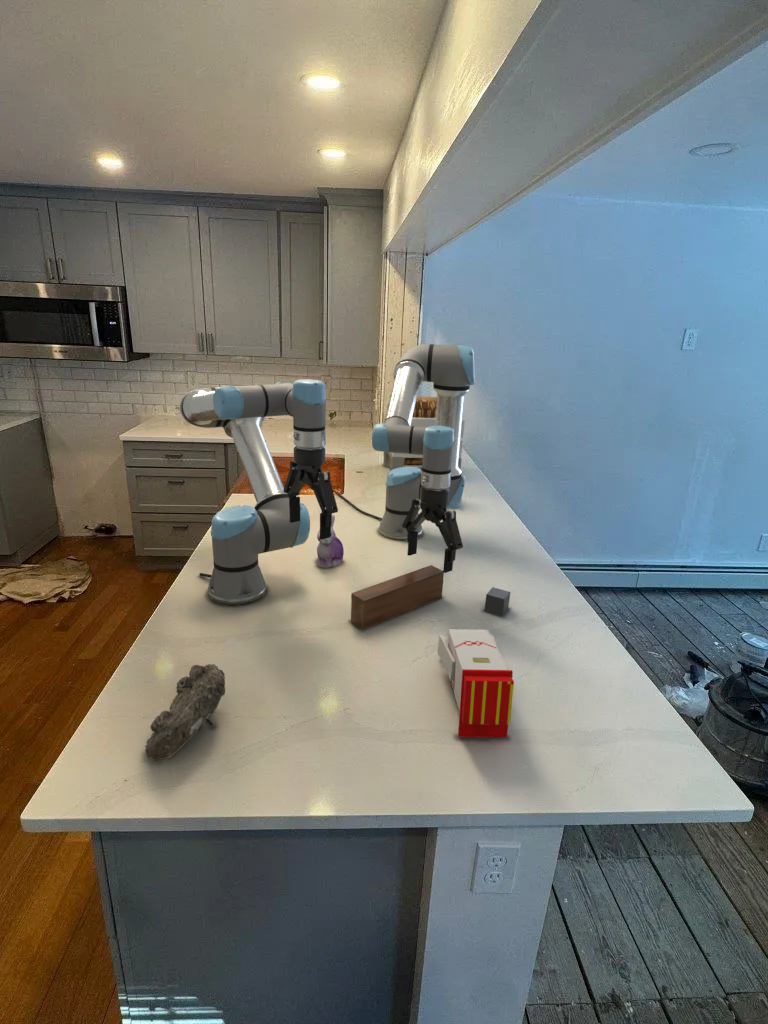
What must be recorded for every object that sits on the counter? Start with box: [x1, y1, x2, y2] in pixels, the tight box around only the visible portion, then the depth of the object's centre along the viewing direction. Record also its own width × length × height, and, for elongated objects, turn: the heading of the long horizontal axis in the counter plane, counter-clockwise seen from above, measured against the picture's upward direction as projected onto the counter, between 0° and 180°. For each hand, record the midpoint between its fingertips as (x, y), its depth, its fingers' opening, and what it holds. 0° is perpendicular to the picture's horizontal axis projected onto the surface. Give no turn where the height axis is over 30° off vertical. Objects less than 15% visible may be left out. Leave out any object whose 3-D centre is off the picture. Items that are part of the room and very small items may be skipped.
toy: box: [437, 628, 515, 738], centre depth 117 cm, size 12×13×30 cm
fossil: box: [144, 663, 226, 761], centre depth 105 cm, size 22×10×15 cm
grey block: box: [484, 586, 511, 617], centre depth 151 cm, size 5×5×5 cm
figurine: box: [316, 514, 345, 568], centre depth 173 cm, size 9×10×15 cm
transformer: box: [383, 395, 465, 472], centre depth 268 cm, size 34×33×41 cm
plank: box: [350, 564, 445, 630], centre depth 149 cm, size 5×28×8 cm, turn 131°
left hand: (309, 529), depth 142 cm, fingers open, 13 cm apart
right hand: (429, 562), depth 153 cm, fingers open, 13 cm apart
